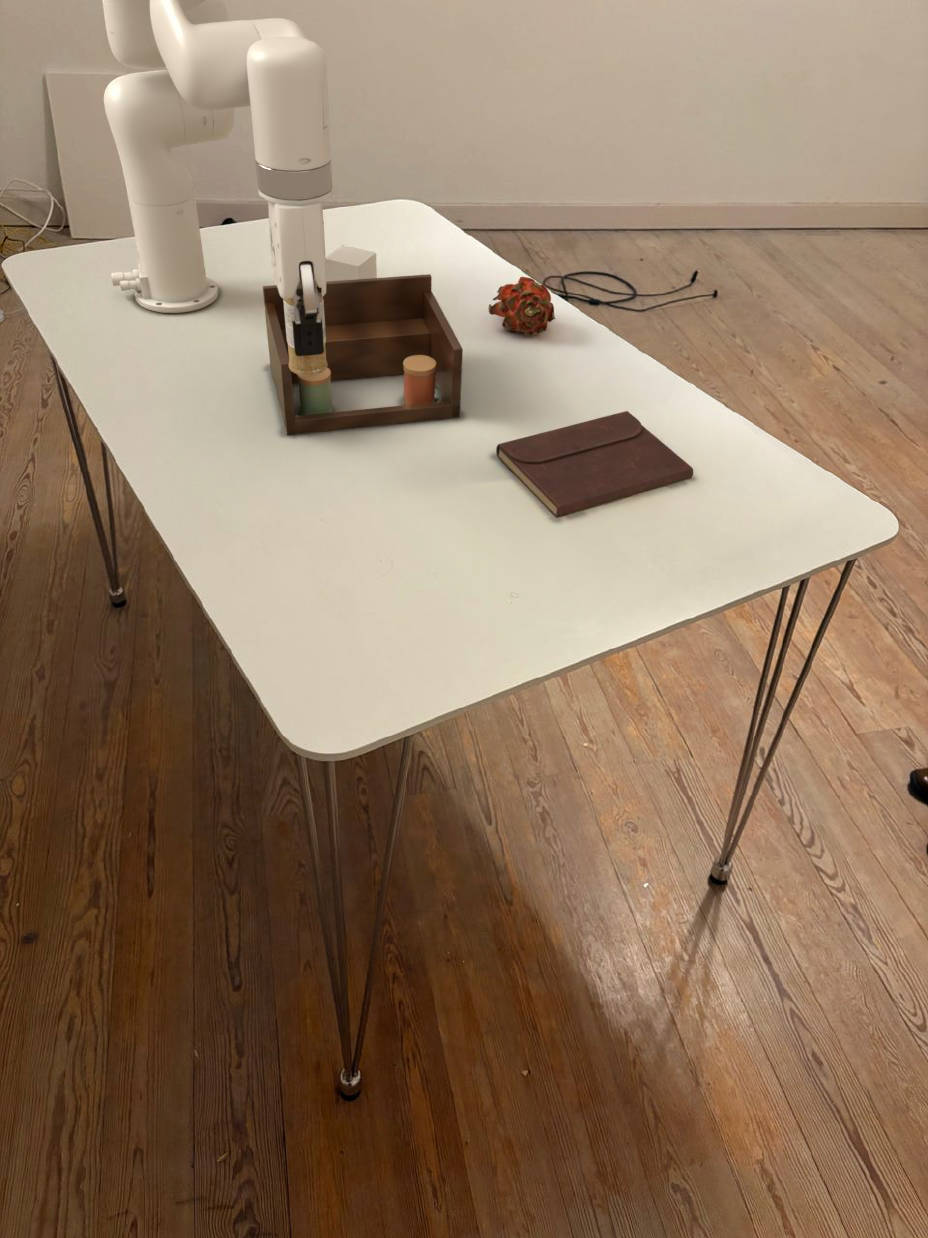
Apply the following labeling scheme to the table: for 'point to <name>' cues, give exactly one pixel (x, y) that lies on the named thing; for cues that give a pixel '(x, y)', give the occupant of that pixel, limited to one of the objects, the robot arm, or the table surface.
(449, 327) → the spice rack
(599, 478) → the notebook
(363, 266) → the light grey cube
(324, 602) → the table surface
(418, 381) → the terracotta jar
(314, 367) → the sprinkles bottle
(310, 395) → the sage jar
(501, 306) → the dragon fruit
